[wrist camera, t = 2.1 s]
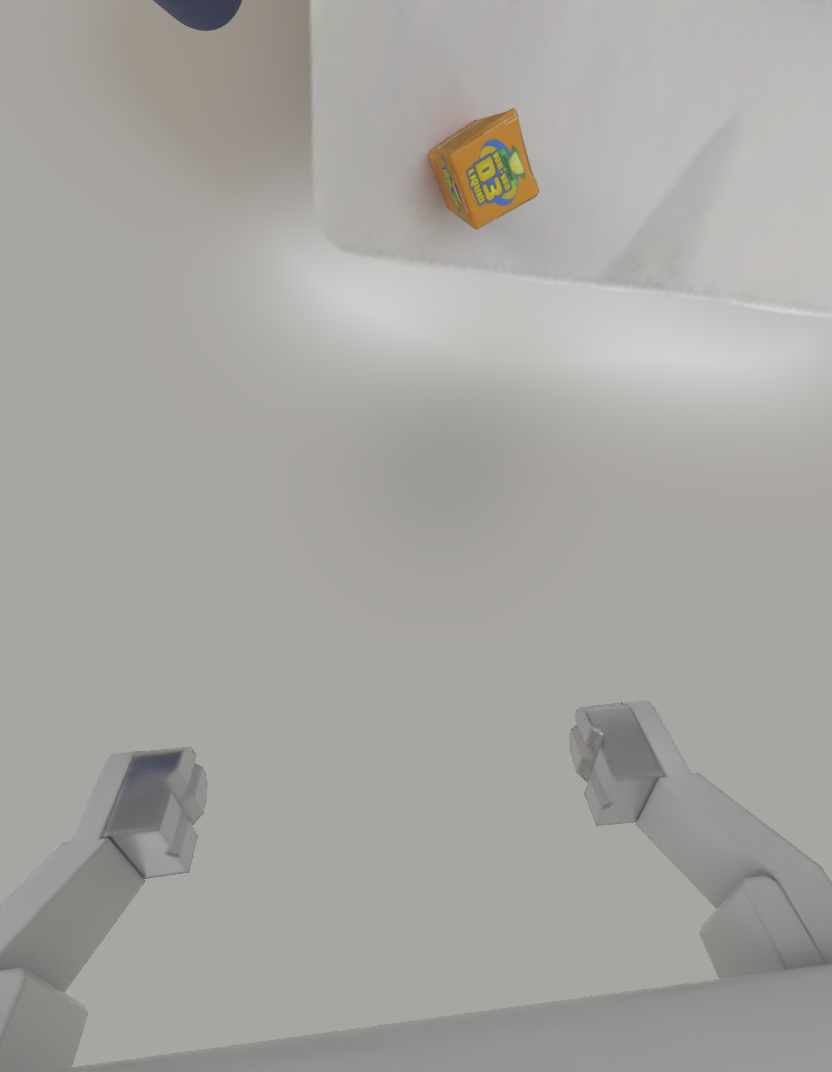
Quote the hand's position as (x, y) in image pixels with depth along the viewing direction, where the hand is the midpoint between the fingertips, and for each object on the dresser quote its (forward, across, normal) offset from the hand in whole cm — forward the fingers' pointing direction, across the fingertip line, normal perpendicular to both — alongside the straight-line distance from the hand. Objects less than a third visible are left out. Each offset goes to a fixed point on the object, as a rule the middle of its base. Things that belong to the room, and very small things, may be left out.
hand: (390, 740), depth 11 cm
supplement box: (+30, -6, -10) cm, 32 cm away
